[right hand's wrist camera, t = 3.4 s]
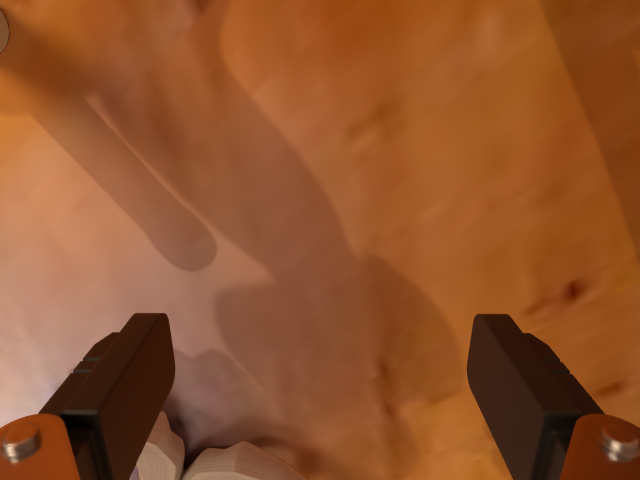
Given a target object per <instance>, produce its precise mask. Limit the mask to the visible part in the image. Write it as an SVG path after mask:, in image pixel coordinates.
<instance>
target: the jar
mask: <svg viewBox="0 0 640 480" xmlns="http://www.w3.org/2000/svg"><path fill="white" fill-rule="evenodd" d="M8 39H9V28H8V24H7V21H6V18H5V16H4V14H3V13H2V11H1V10H0V52H2V51H3V50H4V48H5V47H6V45H7V43H8Z"/></svg>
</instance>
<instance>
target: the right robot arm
mask: <svg viewBox="0 0 640 480" xmlns="http://www.w3.org/2000/svg"><path fill="white" fill-rule="evenodd" d="M467 376H468V382H469V386H470V389H471V391H472V393H473V395H474V397H475V399H476V401H477V404H478V406H479V408H480V410H481V412H482V414H483V416H484V418H485V421H486V423H487V425H488V427H489V429H490V431H491V433H492V435H493V437H494V440H495V442H496V444H497V446H498V448H499V450H500V452H501V454H502V457H503V459H504V461H505V463H506V465H507V467H508V469H509V471H510V474H511V476H512V478H513V480H640V428H638V427H637V426H635V425H633V424H631V423H630V422H627V421H625V420H623V419H620V418H617V417H614V416H610V415H605V413H604V412H603V411H602V410H601V409H600V407H599V406H598V405H597V404H596V403H595V401H594V400H593V399H592V398H591V397H590V395H589V394H588V393H587V392H586V390H585V389H584V388H583V387H582V386H581V384H580V383H579V382H578V381H577V380H576V378H575V377H574V376H573V375H572V374H570V371H569V370H568V369H567V367H566V366H565V365H564V364H563V363H562V362H560V359H559V358H558V357H557V355H556V354H555V353H554V352H553V351H552V349H551V348H550V347H549V346H548V345H547V344H545V343H544V342H542V341H541V340H539V339H538V338H536V337H535V336H533V335H532V334H530V333H522V331H521V330H520V329H519V327H518V326H517V325H516V323H515V322H514V321H513V320H512V318H511V317H510V316H509V315H508V314H477V315H476V316H475V318H474V322H473V328H472V335H471V341H470V348H469V355H468V361H467ZM174 377H175V359H174V352H173V346H172V339H171V332H170V325H169V319H168V317H167V315H166V314H165V313H135V314H134V315H133V316H132V317H131V318H130V320H129V321H128V322H127V323H126V325H125V326H124V327H123V329H122V330H121V331H120V332H113V333H111V334H110V335H108V336H107V337H105V338H104V339H102V340H101V341H99V342H98V343H96V344H95V345H94V346H93V347H92V348H91V349H90V351H89V352H88V353H87V354H86V356H85V357H84V358H83V361H81V362H80V363H79V364H78V365H77V367H76V368H75V369H74V372H73V373H71V374H70V375H69V376H68V378H67V379H66V380H65V381H64V382H63V384H62V385H61V386H60V387H59V388H58V390H57V391H56V392H55V393H54V395H53V396H52V397H51V398H50V399H49V401H48V402H47V403H46V404H45V406H44V407H43V408H42V409H41V410H40V412H39V413H38V414H35V415H30V416H26V417H23V418H20V419H17V420H15V421H13V422H10V423H9V424H7V425H5V426H3V427H2V428H0V480H129V479H130V476H131V474H132V472H133V470H134V468H135V466H136V463H137V461H138V459H139V457H140V455H141V453H142V451H143V448H144V446H145V444H146V442H147V440H148V438H149V436H150V433H151V431H152V429H153V427H154V425H155V423H156V421H157V418H158V416H159V414H160V412H161V410H162V408H163V405H164V403H165V401H166V399H167V397H168V395H169V393H170V390H171V388H172V386H173V382H174Z"/></svg>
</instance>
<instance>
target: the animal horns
mask: <svg viewBox="0 0 640 480" xmlns="http://www.w3.org/2000/svg"><path fill="white" fill-rule="evenodd" d="M184 457H185V446H184V443H183V440H182V438H181V437H179V436H178V435H177V434H175V433H174V432H172V431H171V429H170V426H169V422H168V419H167V416H166V413H165V412H163V411H161V412H160V414H159V416H158V418H157V421H156V423H155V425H154V427H153V429H152V431H151V433H150V436H149V438H148V440H147V442H146V444H145V446H144V448H143V451H142V453H141V455H140V457H139V459H138V461H137V463H136V465H137V468H138V470H139V472H138V476H139V480H306V479H305V478H304V477H303V476H302V475H301V474H299V473H298V472H297V471H296V470H295V469H293V468H292V467H291V466H290V465H289V464H287V463H286V462H285V461H283V460H282V459H280V458H278V457H276V456H274V455H272V454H270V453H268V452H267V451H265V450H263V449H261V448H259V447H257V446H255V445H254V444H252V443H250V442H248V441H242V442H240V443H238V444H235V445H233V446H231V447H229V448H226V449H218V448H207V449H205V450H204V451H203V452H202V453H201V454H200V455H199V456H198V457H197V458H196V460H195V461H194V462H193V463H192V464H191V465H190V466H189V467H188V469H187V470H185V469H183V464H184Z"/></svg>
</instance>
